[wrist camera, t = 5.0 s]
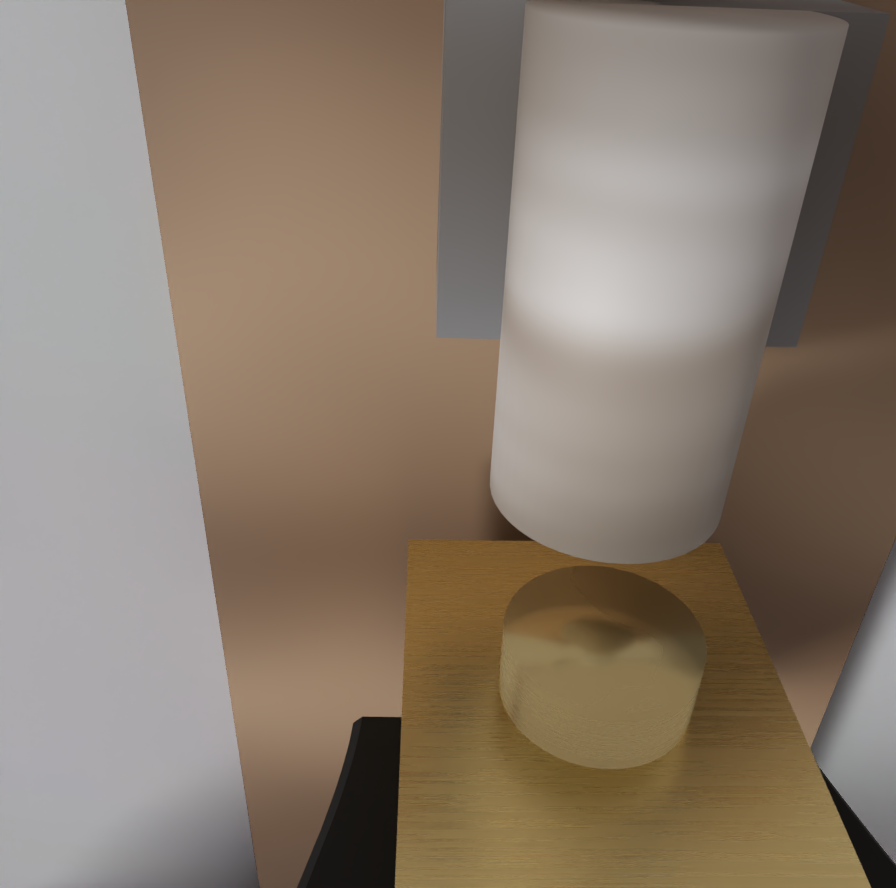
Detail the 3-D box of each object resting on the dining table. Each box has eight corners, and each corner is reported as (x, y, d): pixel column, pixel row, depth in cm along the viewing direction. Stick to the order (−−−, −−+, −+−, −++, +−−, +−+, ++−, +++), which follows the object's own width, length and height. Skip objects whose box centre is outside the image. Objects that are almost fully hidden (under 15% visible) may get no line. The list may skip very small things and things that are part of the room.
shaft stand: (705, 918, 20) (771, 1173, 16) (279, 915, 20) (240, 1173, 16) (1149, -299, 8) (1808, -473, 4) (113, -349, 8) (-207, -584, 4)
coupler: (661, 778, 14) (761, 1173, 9) (408, 777, 14) (397, 1176, 9) (733, 492, 11) (927, 886, 6) (408, 488, 11) (392, 886, 6)
